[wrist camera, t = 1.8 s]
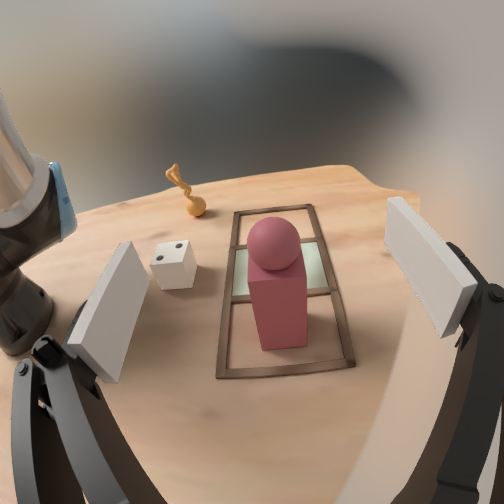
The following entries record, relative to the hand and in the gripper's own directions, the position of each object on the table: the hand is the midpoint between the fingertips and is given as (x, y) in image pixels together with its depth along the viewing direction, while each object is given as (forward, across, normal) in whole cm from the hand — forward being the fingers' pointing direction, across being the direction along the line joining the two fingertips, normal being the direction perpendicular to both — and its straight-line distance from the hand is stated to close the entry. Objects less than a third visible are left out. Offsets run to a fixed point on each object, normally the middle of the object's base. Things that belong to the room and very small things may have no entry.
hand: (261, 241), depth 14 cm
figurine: (+39, -14, -17) cm, 45 cm away
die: (+21, -14, -18) cm, 31 cm away
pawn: (+9, 0, -19) cm, 21 cm away
